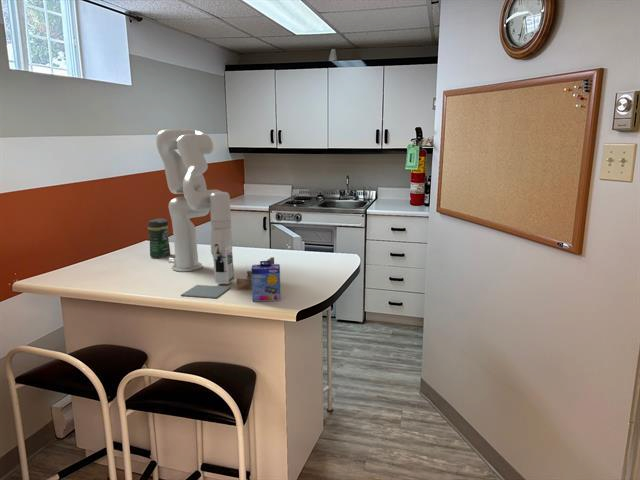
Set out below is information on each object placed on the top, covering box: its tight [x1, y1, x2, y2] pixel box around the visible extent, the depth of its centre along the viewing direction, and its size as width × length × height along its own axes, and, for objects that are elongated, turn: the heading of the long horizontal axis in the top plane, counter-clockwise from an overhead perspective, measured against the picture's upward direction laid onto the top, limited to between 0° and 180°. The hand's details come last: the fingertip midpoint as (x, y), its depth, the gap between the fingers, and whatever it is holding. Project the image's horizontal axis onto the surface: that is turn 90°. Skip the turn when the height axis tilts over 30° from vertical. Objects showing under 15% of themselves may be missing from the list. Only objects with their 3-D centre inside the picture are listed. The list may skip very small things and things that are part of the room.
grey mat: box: [180, 284, 231, 300], centre depth 175 cm, size 14×12×1 cm
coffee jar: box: [147, 217, 171, 259], centre depth 228 cm, size 10×8×19 cm
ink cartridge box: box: [250, 260, 282, 303], centre depth 164 cm, size 10×6×14 cm, turn 95°
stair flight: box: [236, 256, 275, 291], centre depth 180 cm, size 11×11×10 cm
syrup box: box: [212, 244, 235, 285], centre depth 183 cm, size 6×6×14 cm
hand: (223, 269), depth 184 cm, fingers closed on syrup box, 5 cm apart
